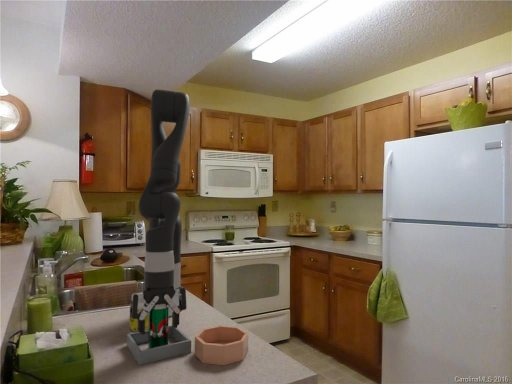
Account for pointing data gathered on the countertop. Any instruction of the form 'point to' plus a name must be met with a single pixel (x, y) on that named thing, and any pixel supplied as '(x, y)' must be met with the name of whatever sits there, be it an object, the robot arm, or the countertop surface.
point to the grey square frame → (158, 352)
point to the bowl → (221, 345)
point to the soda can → (158, 325)
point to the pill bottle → (135, 321)
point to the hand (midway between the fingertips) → (158, 330)
